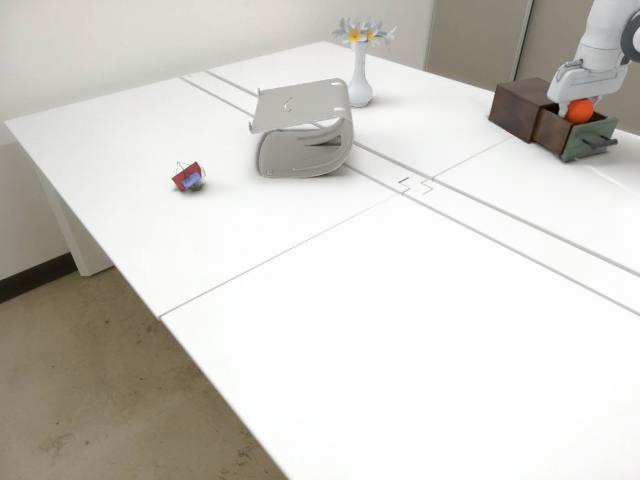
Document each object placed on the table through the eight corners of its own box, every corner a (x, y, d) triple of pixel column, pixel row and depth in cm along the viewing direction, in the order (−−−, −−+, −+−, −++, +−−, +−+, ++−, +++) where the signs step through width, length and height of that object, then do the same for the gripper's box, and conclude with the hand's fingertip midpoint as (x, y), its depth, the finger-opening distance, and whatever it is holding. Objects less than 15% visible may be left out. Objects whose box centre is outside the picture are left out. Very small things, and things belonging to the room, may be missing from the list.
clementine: (557, 115, 121) (566, 88, 116) (586, 119, 119) (596, 92, 114) (558, 127, 115) (567, 99, 110) (588, 131, 113) (599, 103, 108)
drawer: (619, 159, 114) (634, 126, 108) (578, 169, 110) (591, 135, 105) (559, 127, 128) (570, 96, 123) (521, 135, 124) (531, 104, 119)
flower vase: (393, 109, 141) (402, 21, 125) (334, 112, 139) (335, 24, 123) (382, 93, 151) (390, 10, 135) (327, 96, 149) (328, 13, 133)
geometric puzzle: (172, 194, 100) (187, 162, 98) (161, 180, 104) (176, 149, 102) (200, 202, 105) (215, 172, 103) (189, 189, 109) (203, 159, 107)
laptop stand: (352, 179, 109) (355, 117, 99) (253, 179, 108) (246, 118, 99) (346, 131, 128) (348, 76, 119) (262, 132, 128) (258, 76, 119)
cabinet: (569, 134, 127) (583, 97, 120) (527, 143, 122) (539, 105, 116) (527, 112, 139) (538, 77, 132) (488, 119, 134) (496, 84, 128)
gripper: (572, 66, 101) (552, 125, 110) (639, 56, 107) (615, 112, 116) (551, 58, 106) (533, 115, 114) (616, 48, 111) (595, 103, 120)
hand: (575, 113), depth 115 cm, fingers closed on clementine, 7 cm apart
